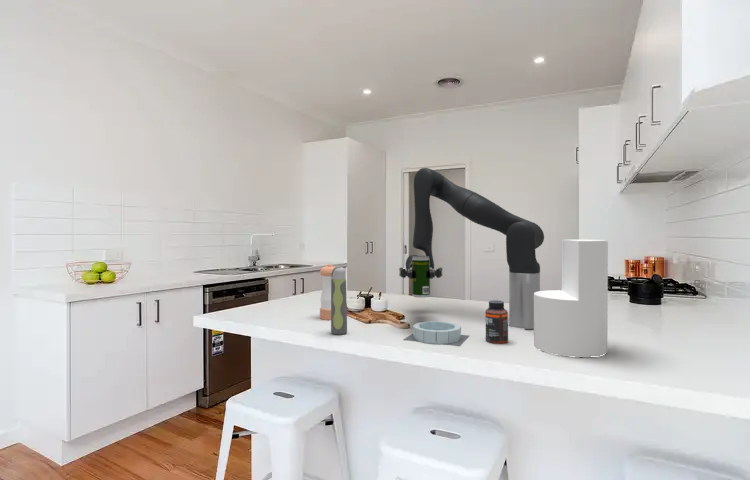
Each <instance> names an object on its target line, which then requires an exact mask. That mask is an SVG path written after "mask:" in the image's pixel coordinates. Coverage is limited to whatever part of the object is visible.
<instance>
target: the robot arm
mask: <svg viewBox="0 0 750 480" xmlns="http://www.w3.org/2000/svg"><path fill="white" fill-rule="evenodd" d="M413 196H414V197H413V198H414V199H413V200H414V226H413V227H414V228H413V238H412V247H413V248H414V249H417V250H419V251H423V252H424V254H425V256H429V259H430V280H432V279H434V278H435V277H436V278H437V279H439V278H441V277H443V267H440V266H439V267H437V268H436V269H435V261H434V256H433V247H432V245H433V235H434V234H433V233H434V224H433V218H432V213H431V205H430V200H431V196H432V197H434V198H436V199H438V200H441V201H444V203H447V204H448V205H450V206H451V207H452V208H453V210H454V211H456V212H457V213H458V214H460V215H461V216H462V217H464V218H466V219H468V220H469V221H470V222H473V223H475V224H477V225H479V226H482V227H484V228H488V229H491V230H495V231H497V232H499V233H501V234H503V235H504V236H505V246H506V247H505V249H506V250H505V251H506V253H505V254H506V261H507V265H508V270H509V271H508V274H509V275H508V277H509V279H508V281H509V283H508V285H509V286H508V287H509V288H508V291H509V292H508V293H509V295H508V297H509V298H508V300H509V301H508V304H509V307H508V309H509V310H508V311H509V312H508V315H509V316H508V326H510V327H513V328H516V329H517V328H518V329H524V330H534V293H535V292H538V291H541V264H540V263H539V262H538V261H537V257H536V256H537V255H536V249H538V248H540V247H541V246H542V245H543V243H544V241H545V234H544V231H543V229H542V228H541V227H540V225H538V224H537V223H535V222H532V221H530V220H528V219H524V217H520V216H517V215H516V214H513V213H511V212H509V211H508V210H506V209H504V208H503V207H501V206H499V205H498V204H497V203H495V202H493V201H491V200H490V199H488V198H487V197H485V196H482V195H481V194H479V193H477V192H475V191H473V190H471V189H468V188H465V187H462V186H459V185H458V184H455V183H454V182H452V181H451V180H450V179H448V178H447V177H445V176H444V175H443V174H441V173H440V172H438V171H436V170H434V169H431V168H429V167H422V168H419V170H417V171H416V173H415V175H414V177H413ZM413 256H418V255H416V254H411V255H409V256H408V257H407V258H406V261H405V267H399V269H398V271H399V272H398V273H399V274H398V275H399V277H401V278H403V279H405V278H408V279H410V280H412V258H413Z"/></svg>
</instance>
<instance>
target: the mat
mask: <svg viewBox="0 0 750 480" xmlns="http://www.w3.org/2000/svg"><path fill="white" fill-rule="evenodd" d="M469 337H470V335H469V334H468V335H467V334H461V339H460V340H459V341H458V342H454V343H450V344H449V343H448V344H442V345H443V346H453V347H461V346H462V345H463V344H464V343H465V341H467V340H468V338H469ZM402 341H407V342H408V341H409V342H416V343H417V342H418V343H421V342H420V341H417V340H415V339H414V337H413V333H411V334H410V335H408V336H406V337H405V338H403V339H402Z"/></svg>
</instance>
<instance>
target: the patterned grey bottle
mask: <svg viewBox="0 0 750 480" xmlns="http://www.w3.org/2000/svg"><path fill="white" fill-rule="evenodd" d="M331 276H332V279H331V320H330V333H331V334H332V335H337V336H339V335H340V336H341V335H345V334H347V332H348V311H347V310H348V309H347V306H348V305H347V303H348V302H347V280H346V268H344V267H342V266H335V268H334V269H333V271H332V274H331Z"/></svg>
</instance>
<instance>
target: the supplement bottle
mask: <svg viewBox="0 0 750 480" xmlns="http://www.w3.org/2000/svg"><path fill="white" fill-rule="evenodd" d="M504 304H505V302H504V301H503V300H497V299H496V300H489V301H488V308H487V309H485V313H484V315H485V316H484V317H485V342H487V343H489V344H492V345H505V344H508V342H509V316H508V315H509V312H508V310H507V309H505V305H504Z"/></svg>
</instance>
